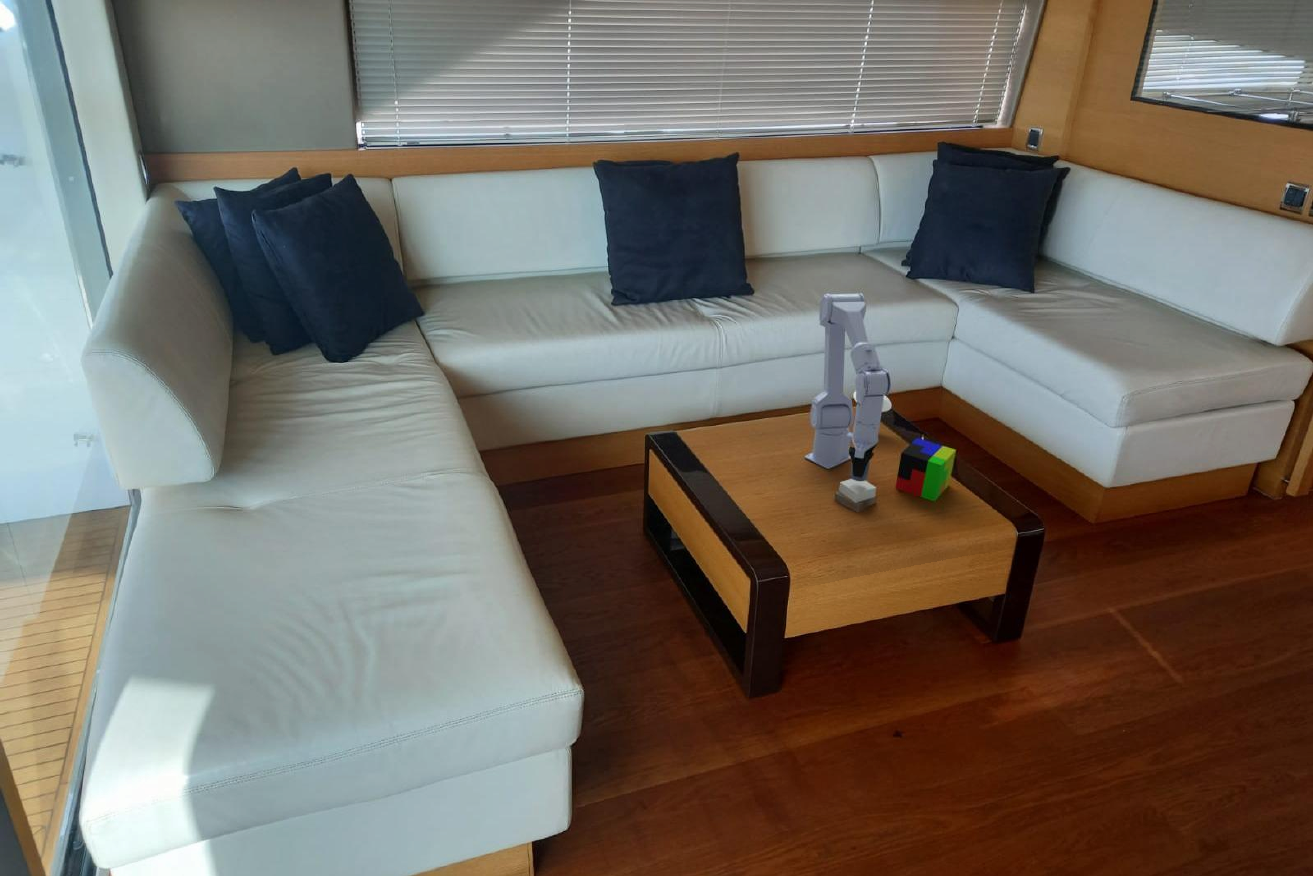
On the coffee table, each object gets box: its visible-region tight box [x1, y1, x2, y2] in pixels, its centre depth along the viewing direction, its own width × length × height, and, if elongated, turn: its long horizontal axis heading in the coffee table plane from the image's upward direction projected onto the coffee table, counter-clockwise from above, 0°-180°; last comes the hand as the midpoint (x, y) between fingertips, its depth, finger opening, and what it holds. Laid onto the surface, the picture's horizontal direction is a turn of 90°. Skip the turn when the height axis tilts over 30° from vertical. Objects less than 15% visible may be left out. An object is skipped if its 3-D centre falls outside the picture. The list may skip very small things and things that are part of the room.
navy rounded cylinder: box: [849, 461, 870, 481], centre depth 220 cm, size 4×4×4 cm
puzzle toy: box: [894, 438, 957, 502], centre depth 229 cm, size 10×10×10 cm
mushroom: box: [852, 390, 892, 413], centre depth 256 cm, size 10×11×12 cm
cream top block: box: [838, 478, 877, 503], centre depth 222 cm, size 6×6×2 cm
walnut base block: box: [834, 490, 878, 513], centre depth 223 cm, size 7×7×2 cm
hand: (859, 471), depth 220 cm, fingers closed on navy rounded cylinder, 4 cm apart
